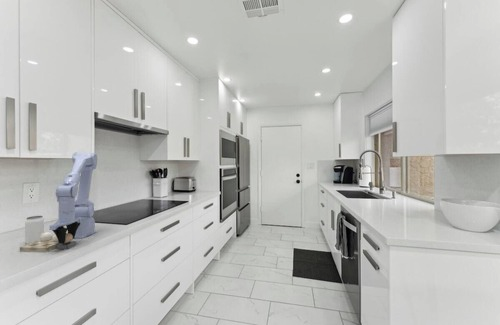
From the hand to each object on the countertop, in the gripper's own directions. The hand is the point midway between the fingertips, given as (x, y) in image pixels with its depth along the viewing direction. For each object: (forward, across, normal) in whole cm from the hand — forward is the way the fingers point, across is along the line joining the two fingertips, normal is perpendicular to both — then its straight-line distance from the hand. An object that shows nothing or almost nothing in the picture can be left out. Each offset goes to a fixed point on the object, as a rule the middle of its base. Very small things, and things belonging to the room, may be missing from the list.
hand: (66, 240), depth 99 cm
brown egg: (-1, 0, 0) cm, 1 cm away
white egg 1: (-1, -3, -12) cm, 13 cm away
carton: (+3, 0, -10) cm, 10 cm away
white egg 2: (-1, -3, -7) cm, 7 cm away
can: (+3, -5, -20) cm, 21 cm away
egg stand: (+3, 0, 0) cm, 3 cm away
